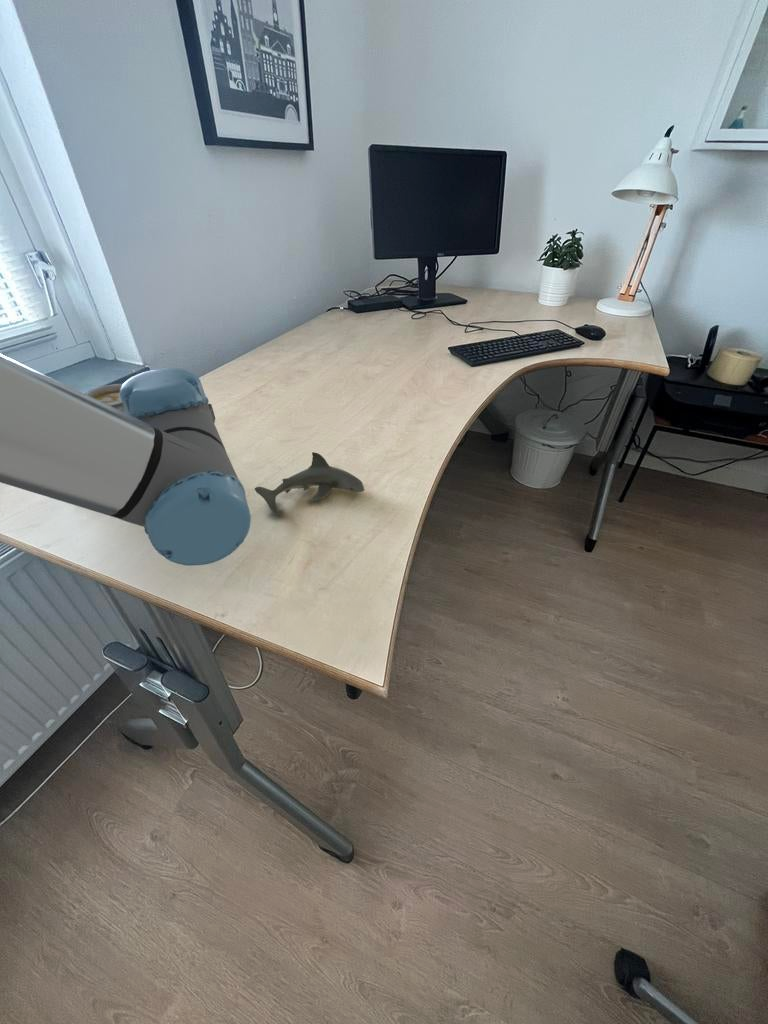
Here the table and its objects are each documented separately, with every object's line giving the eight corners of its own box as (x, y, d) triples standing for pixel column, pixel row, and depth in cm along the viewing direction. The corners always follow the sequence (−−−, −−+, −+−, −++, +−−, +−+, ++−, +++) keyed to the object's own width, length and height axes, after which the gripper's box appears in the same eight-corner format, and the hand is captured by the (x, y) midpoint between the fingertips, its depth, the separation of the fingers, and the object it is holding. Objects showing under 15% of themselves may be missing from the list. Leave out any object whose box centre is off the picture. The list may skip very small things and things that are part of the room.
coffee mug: (99, 439, 86) (75, 392, 80) (151, 425, 90) (133, 379, 84) (110, 470, 78) (84, 420, 71) (167, 453, 82) (148, 404, 75)
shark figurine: (358, 523, 71) (355, 486, 66) (261, 515, 73) (251, 479, 68) (372, 474, 82) (370, 439, 77) (287, 468, 84) (280, 434, 79)
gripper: (85, 529, 54) (58, 458, 67) (267, 460, 66) (215, 411, 79) (55, 480, 49) (33, 413, 62) (258, 415, 61) (203, 371, 74)
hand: (134, 412), depth 70 cm, fingers open, 13 cm apart
